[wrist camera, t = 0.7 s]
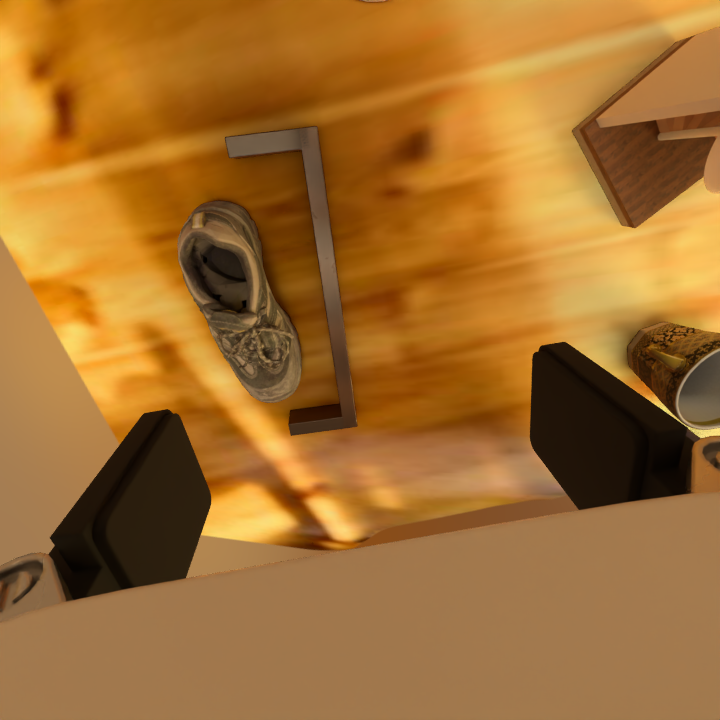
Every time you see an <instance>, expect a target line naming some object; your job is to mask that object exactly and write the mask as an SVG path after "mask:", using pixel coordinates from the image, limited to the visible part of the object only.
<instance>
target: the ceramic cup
mask: <svg viewBox="0 0 720 720" xmlns="http://www.w3.org/2000/svg"><path fill="white" fill-rule="evenodd" d="M627 352H628V363H629V367H630V368H631V369H632V370H633V372H634V373H635V374H636V375H637V376H638V377H639V378H640V379H641V380H642V381H643V382H644V383H645V384H646V385H647V386H648V387H649V388H650V389H651V390H652V391H653V392H654V394H655V395H656V396H657V397H658V399H659V400H660V401H661V402H662V403H663V404H664V405H665V406H666V407H667V408H668V409H669V411H670V412H671V413H672V414H674V415H675V416H676V417H677V418H678V419H679V420H680V421H681V422H682V423H684V424H685V425H687V426H689V427H691V428H695V429H702V430H708V429H715V428H720V333H714V332H707V331H703V330H699V329H694V328H690V327H685V326H680V325H677V324H673V323H667V322H662V323H659V324H656V325H653V326H650V327H647V328H645V329H642V330H640V331H639V332H638V334H637V335H636V336H635V337H634V339H633V340H632V341H631V343H630V344H629V345H628V347H627Z"/></svg>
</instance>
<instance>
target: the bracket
mask: <svg viewBox="0 0 720 720" xmlns="http://www.w3.org/2000/svg"><path fill="white" fill-rule="evenodd" d="M225 141H226V146H227V150H228V155H229V158H234V159H239V158H247V157H256V156H264V155H272V154H281V153H289V152H297V151H302V156H303V163H304V170H305V176H306V183H307V189H308V196H309V202H310V209H311V216H312V222H313V229H314V235H315V242H316V248H317V255H318V262H319V268H320V275H321V281H322V288H323V294H324V301H325V308H326V314H327V321H328V327H329V334H330V340H331V347H332V354H333V360H334V367H335V373H336V380H337V387H338V393H339V400H340V404H335V405H328V406H320V407H313V408H305V409H298V410H291V411H290V417H289V424H288V425H289V430H290V434H291V436H292V435H299V434H307V433H314V432H321V431H329V430H336V429H344V428H351V427H357V418H356V410H355V403H354V396H353V388H352V381H351V373H350V366H349V358H348V351H347V343H346V336H345V328H344V321H343V314H342V306H341V299H340V291H339V284H338V276H337V269H336V261H335V254H334V246H333V239H332V232H331V224H330V217H329V209H328V202H327V194H326V187H325V179H324V172H323V164H322V157H321V150H320V142H319V135H318V128H317V126H314V127H305V128H297V129H288V130H280V131H271V132H263V133H255V134H246V135H238V136H229V137H225Z"/></svg>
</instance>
